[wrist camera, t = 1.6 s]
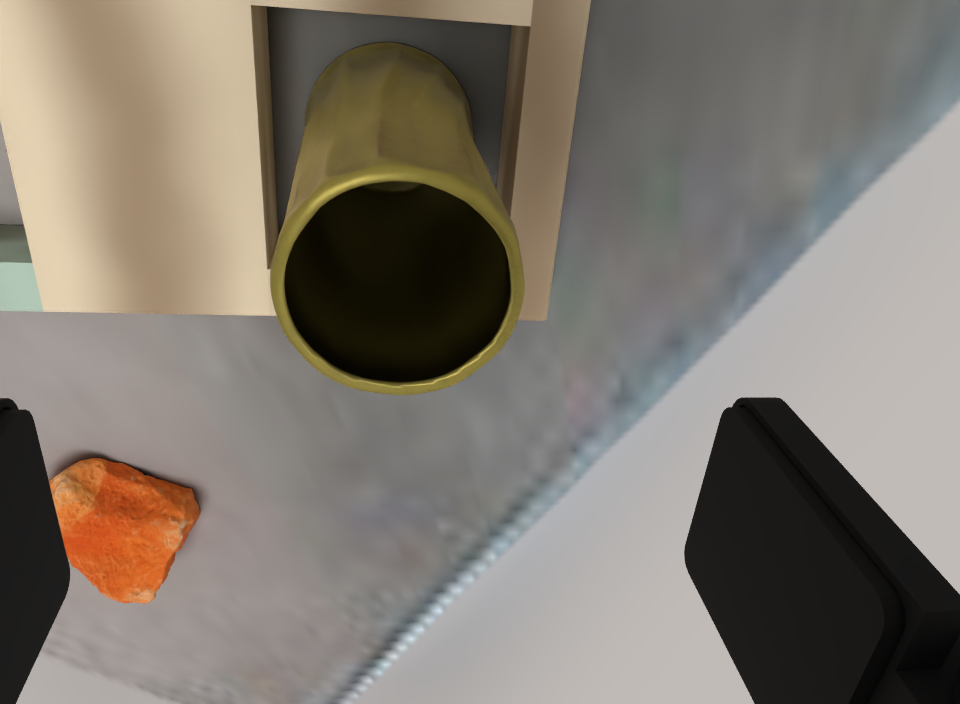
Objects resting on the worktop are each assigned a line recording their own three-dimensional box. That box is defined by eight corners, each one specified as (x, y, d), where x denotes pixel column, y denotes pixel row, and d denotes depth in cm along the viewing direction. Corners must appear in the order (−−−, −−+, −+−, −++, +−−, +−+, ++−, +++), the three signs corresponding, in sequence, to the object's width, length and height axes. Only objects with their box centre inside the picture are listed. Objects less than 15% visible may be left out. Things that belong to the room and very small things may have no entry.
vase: (479, 198, 29) (555, 392, 17) (324, 219, 29) (285, 435, 17) (461, 31, 26) (537, 120, 14) (287, 53, 26) (205, 165, 13)
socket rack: (569, -38, 25) (595, -34, 22) (529, 282, 31) (546, 320, 28) (-375, -124, 21) (-499, -133, 18) (-219, 263, 27) (-293, 305, 24)
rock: (45, 339, 31) (-1, 394, 27) (311, 455, 35) (303, 515, 31) (-47, 534, 35) (-97, 605, 31) (202, 615, 39) (184, 686, 36)
